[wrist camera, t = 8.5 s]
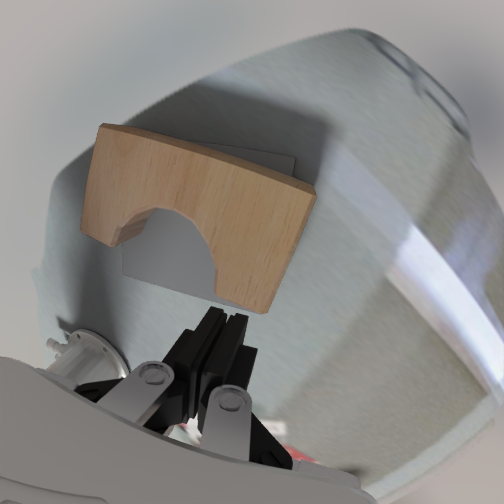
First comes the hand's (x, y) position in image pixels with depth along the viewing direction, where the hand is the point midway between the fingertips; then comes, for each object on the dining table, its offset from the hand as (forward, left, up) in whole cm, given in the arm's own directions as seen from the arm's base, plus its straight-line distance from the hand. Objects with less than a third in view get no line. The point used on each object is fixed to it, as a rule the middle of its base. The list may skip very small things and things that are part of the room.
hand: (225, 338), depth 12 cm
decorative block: (+2, +1, -13) cm, 13 cm away
